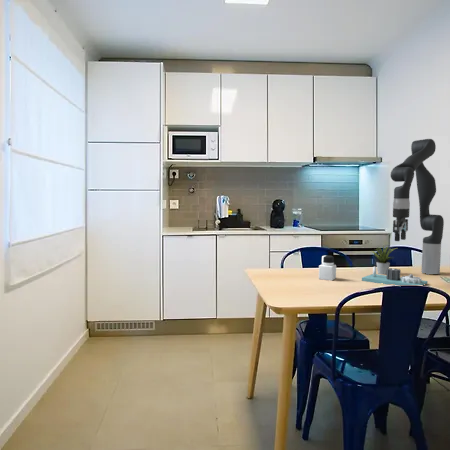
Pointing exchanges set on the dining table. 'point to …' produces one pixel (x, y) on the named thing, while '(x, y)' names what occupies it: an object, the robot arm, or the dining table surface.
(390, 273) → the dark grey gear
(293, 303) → the dining table surface
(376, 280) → the gear board
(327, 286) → the dining table surface
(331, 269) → the medicine bottle
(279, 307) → the dining table surface
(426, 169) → the robot arm
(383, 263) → the house plant
